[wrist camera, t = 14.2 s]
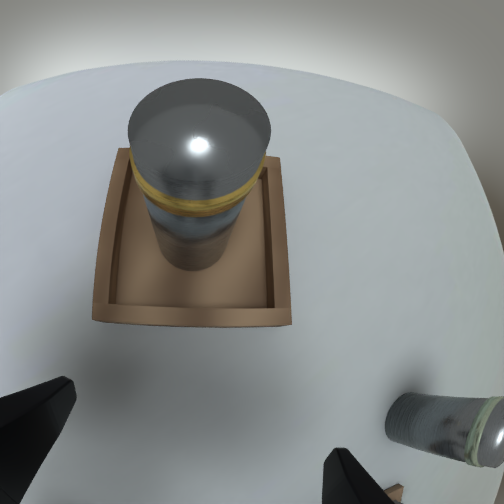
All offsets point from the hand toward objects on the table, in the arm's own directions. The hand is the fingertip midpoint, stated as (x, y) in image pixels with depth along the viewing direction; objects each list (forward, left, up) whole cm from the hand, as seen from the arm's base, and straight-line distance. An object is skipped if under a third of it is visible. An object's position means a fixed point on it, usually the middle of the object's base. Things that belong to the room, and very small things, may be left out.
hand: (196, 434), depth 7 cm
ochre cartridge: (0, +11, -12) cm, 16 cm away
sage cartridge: (+20, -7, -13) cm, 25 cm away
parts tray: (0, +11, -13) cm, 17 cm away
